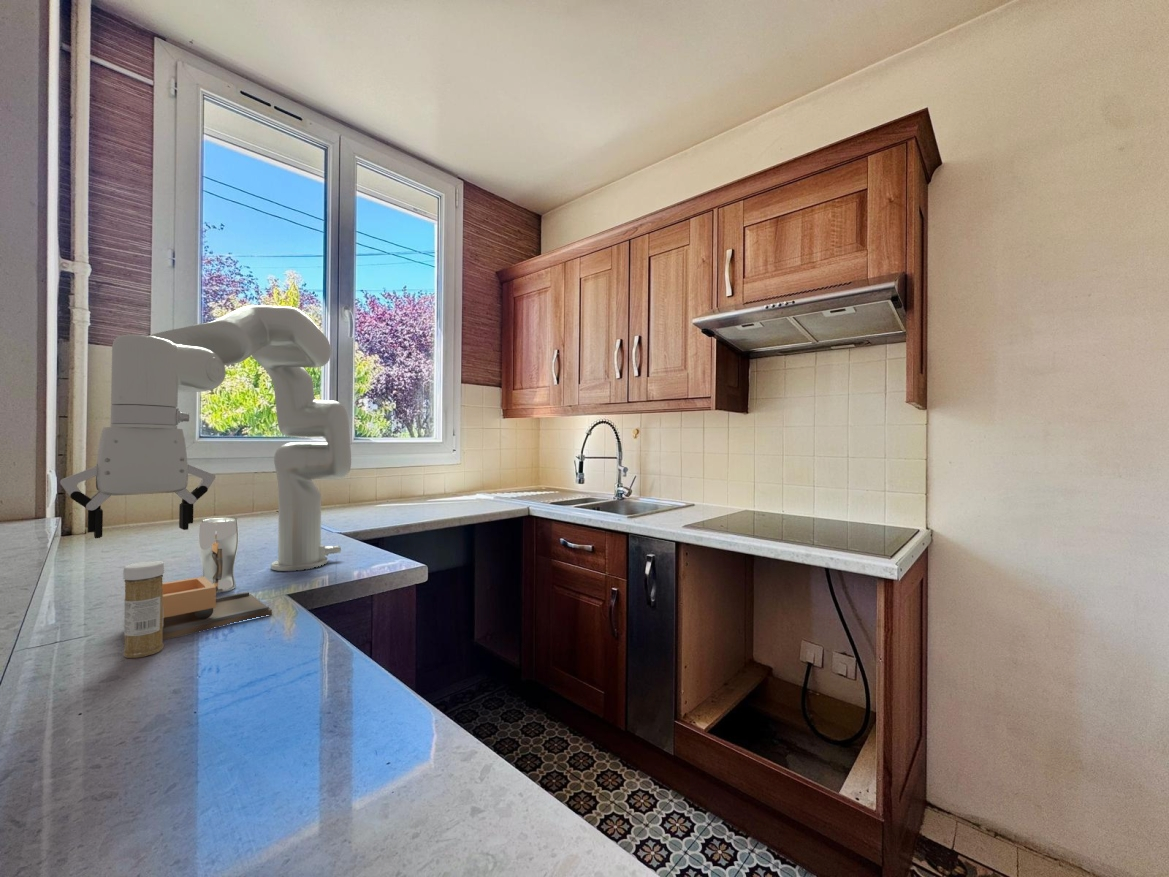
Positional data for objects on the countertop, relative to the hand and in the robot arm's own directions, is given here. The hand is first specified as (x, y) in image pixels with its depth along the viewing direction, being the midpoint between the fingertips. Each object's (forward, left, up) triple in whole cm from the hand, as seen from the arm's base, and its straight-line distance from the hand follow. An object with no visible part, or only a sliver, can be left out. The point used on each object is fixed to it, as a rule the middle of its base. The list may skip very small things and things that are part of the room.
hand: (142, 532), depth 74 cm
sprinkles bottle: (0, 0, -18) cm, 18 cm away
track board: (-9, -11, -18) cm, 23 cm away
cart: (-5, -11, -17) cm, 21 cm away
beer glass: (-15, -30, -18) cm, 38 cm away
